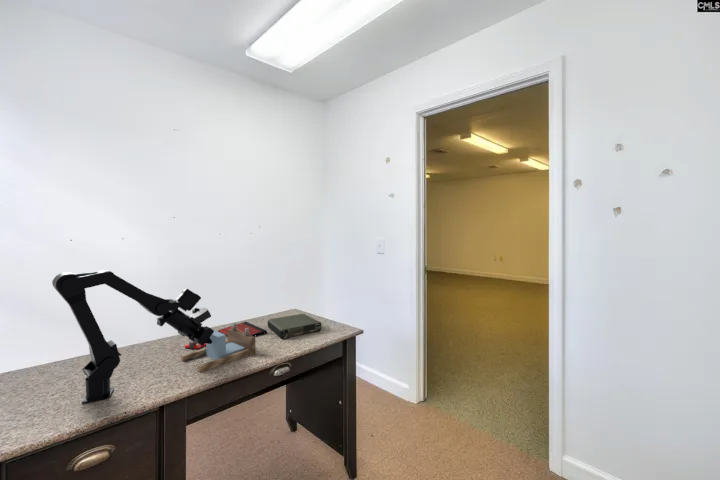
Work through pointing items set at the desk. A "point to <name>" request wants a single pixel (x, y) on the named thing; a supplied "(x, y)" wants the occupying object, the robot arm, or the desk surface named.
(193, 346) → the tow hook
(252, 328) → the binder
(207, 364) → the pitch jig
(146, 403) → the desk surface
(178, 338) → the desk surface
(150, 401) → the desk surface
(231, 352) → the block
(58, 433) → the desk surface
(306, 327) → the dark green electronics case
